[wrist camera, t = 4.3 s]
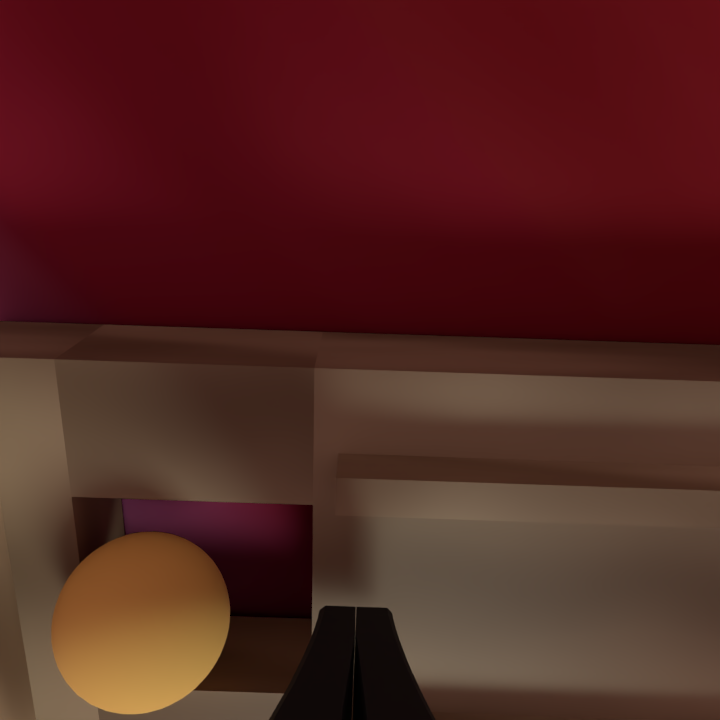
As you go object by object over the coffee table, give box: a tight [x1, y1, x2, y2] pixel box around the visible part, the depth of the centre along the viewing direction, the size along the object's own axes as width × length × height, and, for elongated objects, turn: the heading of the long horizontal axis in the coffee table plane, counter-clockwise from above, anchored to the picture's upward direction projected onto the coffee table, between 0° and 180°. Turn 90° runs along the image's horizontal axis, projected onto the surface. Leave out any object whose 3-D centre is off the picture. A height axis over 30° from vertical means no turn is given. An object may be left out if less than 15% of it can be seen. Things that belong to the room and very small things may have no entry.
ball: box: [51, 531, 230, 714], centre depth 14 cm, size 4×4×4 cm
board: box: [0, 321, 720, 720], centre depth 14 cm, size 11×18×4 cm, turn 88°
